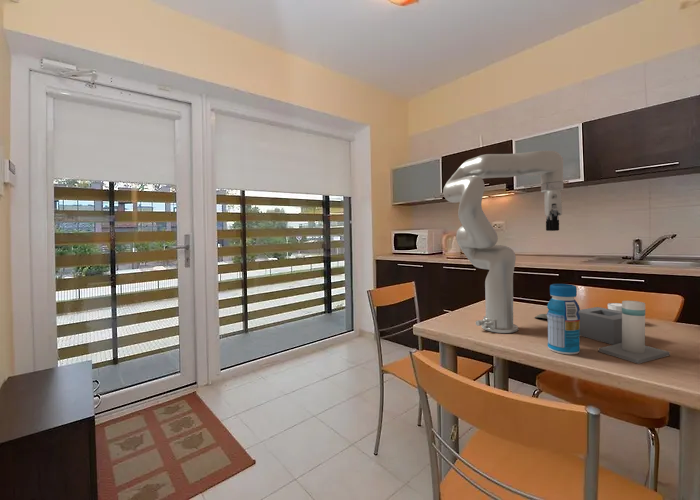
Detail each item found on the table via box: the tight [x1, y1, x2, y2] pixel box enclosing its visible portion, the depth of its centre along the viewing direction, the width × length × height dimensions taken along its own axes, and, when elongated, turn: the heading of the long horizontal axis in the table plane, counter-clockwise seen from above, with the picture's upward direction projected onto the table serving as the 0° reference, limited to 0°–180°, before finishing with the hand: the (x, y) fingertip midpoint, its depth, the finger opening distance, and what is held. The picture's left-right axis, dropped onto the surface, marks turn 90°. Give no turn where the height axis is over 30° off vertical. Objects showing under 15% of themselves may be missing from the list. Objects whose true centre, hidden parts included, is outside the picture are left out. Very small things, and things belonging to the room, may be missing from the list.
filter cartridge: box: [621, 300, 646, 353], centre depth 92 cm, size 5×5×14 cm
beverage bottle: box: [546, 283, 581, 355], centre depth 97 cm, size 8×8×20 cm
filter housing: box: [578, 306, 622, 345], centre depth 108 cm, size 13×13×8 cm
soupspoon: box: [534, 313, 548, 320], centre depth 124 cm, size 22×3×7 cm
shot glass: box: [607, 302, 622, 311], centre depth 122 cm, size 7×7×7 cm
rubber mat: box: [598, 343, 671, 364], centre depth 93 cm, size 14×10×1 cm
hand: (552, 230), depth 128 cm, fingers open, 9 cm apart
